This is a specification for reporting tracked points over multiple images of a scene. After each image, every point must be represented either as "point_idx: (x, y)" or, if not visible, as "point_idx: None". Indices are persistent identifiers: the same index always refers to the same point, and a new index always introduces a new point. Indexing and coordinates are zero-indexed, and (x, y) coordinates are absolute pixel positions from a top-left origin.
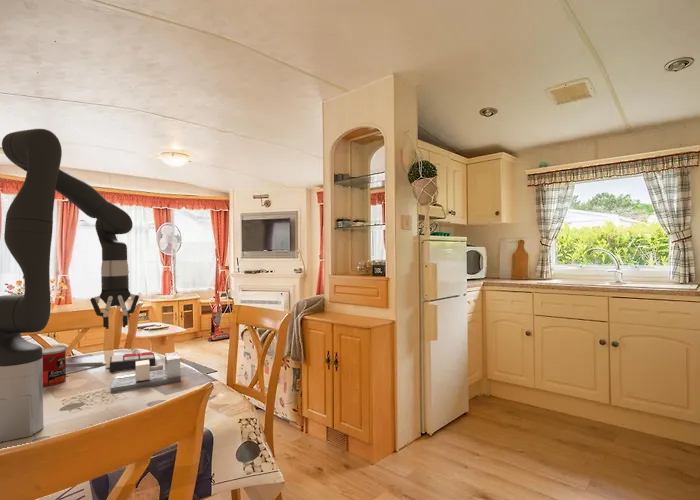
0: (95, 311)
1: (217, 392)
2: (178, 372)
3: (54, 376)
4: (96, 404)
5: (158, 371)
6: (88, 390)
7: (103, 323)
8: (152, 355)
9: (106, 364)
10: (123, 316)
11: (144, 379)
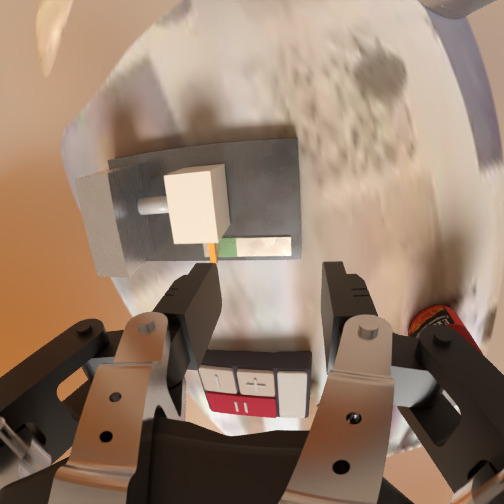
0: (482, 356)
1: (57, 49)
2: (106, 170)
3: (438, 316)
4: (322, 53)
5: (171, 253)
6: (361, 203)
7: (367, 290)
8: (204, 384)
9: (317, 406)
10: (177, 310)
11: (198, 166)
